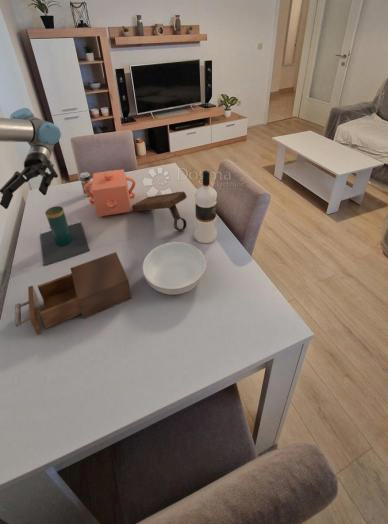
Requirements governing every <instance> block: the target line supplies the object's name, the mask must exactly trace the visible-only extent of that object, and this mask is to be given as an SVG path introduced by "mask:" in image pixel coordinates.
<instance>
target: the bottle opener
mask: <svg viewBox="0 0 388 524" xmlns="http://www.w3.org/2000/svg"><path fill="white" fill-rule="evenodd" d="M187 198H188V197H187V193H186V192H185V191H177V192H170V193H165V194H158V195H152V196H148V197H146V198H144V199H142V200H139V201H137V202H136V203H134V204H132V205H131V208H132V211H133V212H140V211H151V210H160V209H161V210H162V209H169V211H170V213H171V214H170V215H171V216H172V218H173V228H174V229H175V231H177V232H182V231H184V230H186V228H187V226H188V224H187V223H188V222H187V220H186V219H185V218H184V217H181V215H180V212H179V210H178V208H177V204H179V203H180V202H182V201H184V200H186V199H187ZM179 220H181V221H182V223H183V224H182V227H181V229H180V228H179V226H178V221H179Z"/></svg>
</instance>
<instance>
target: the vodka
mask: <svg viewBox="0 0 388 524" xmlns="http://www.w3.org/2000/svg"><path fill="white" fill-rule="evenodd" d="M210 184H211V171H209V170H203V171H202V186H201V187H198V188H197V189H196V191H195V193H194V203H195V204H194V205H195V206H194V207H195V209H194V210H195V215H194V219H195V221H194V222H195V225H194V230H193V237H194V239H195V240H196V241H197V242H199V243H201V244H209V243H212V242H214V241H215V240H216V238H217V237H218V232H217V227H216V226H217V224H216V223H217V203H218V202H217V199H218V192H217V190H216V189H214V188H213V187H212V186H211V185H210Z"/></svg>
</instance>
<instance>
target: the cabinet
mask: <svg viewBox="0 0 388 524" xmlns="http://www.w3.org/2000/svg"><path fill="white" fill-rule="evenodd" d="M70 272H71V273H72V277H73V282H74V286H75V291H76V295H77V300H78V303H79V306H80V309H81V312H82V313H81V315H82V317H83V320H85V319H87V318H88V319H89V318H90V317H92V316H94V315H96V314H99V313H101V312H103V311H106V310H108V309H111V308H113V307H115V306H117V305H120V304H122V303H124V302H127V301H130V300H131V299H132V293H131V292H132V291H131V288H130V282H129V278H128V276H127V274H126V272H125V269H124V266H123V265H122V262H121V260H120V257H119V255H118V253H117V252H116V251H115V252H112V253H109V254H107V255H104V256H101V257H97V258H95V259H92V260H88V261H87V262H84V263H81V264H78V265H76V266H71V267H70ZM71 273H70V274H71Z"/></svg>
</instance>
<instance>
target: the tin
mask: <svg viewBox="0 0 388 524" xmlns="http://www.w3.org/2000/svg"><path fill="white" fill-rule="evenodd" d="M44 215H45V217H46V220H47V222H48V225H49V227H50V231H52V234H53V237H54V240H55V243H56V245H57V246H60V247H62V246H66V245H68V244H70V243H71V241H72V237H71V234H70V231H69V227H68V226H69V224H68V221H67V217H66V213H65V209H64V207H63V206H60V205H55V206H52V207H49V208H48V209H46V210H45V212H44Z"/></svg>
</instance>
